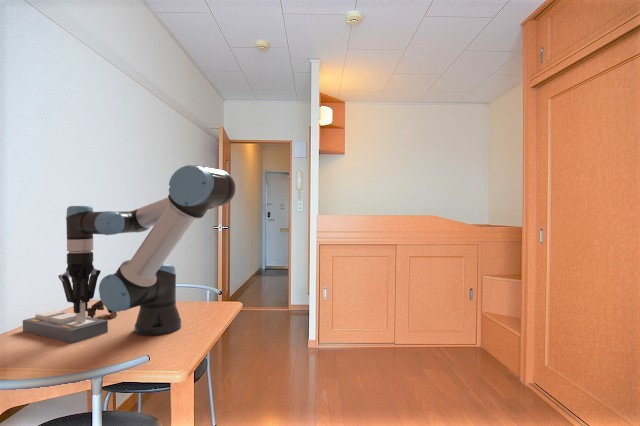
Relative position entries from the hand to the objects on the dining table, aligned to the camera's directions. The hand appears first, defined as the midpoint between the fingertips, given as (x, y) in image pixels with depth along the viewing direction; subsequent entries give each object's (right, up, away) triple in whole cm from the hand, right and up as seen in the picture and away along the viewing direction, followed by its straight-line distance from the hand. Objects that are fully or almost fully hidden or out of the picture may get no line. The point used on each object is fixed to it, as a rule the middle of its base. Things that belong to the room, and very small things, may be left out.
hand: (80, 321), depth 128 cm
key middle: (-8, -2, +4) cm, 9 cm away
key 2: (0, -3, 0) cm, 3 cm away
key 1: (-16, -2, +8) cm, 18 cm away
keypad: (-8, -5, +4) cm, 10 cm away
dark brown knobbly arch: (-5, -5, +22) cm, 23 cm away
